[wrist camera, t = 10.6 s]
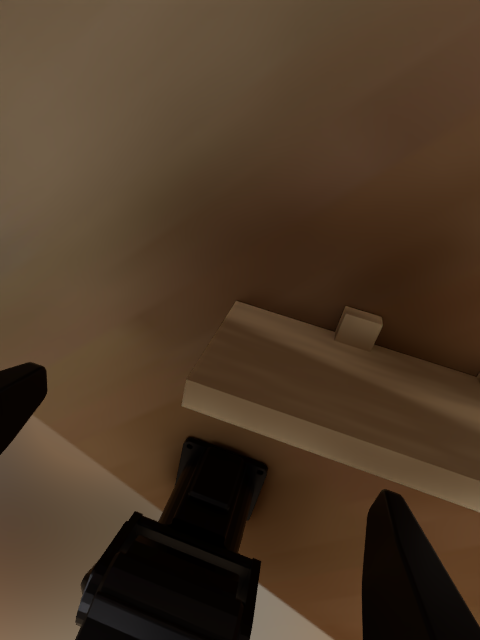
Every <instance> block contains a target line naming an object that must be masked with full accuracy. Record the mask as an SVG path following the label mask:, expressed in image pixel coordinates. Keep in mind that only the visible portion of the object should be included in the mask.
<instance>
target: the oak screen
mask: <svg viewBox="0 0 480 640" xmlns="http://www.w3.org/2000/svg"><path fill="white" fill-rule="evenodd" d="M382 326H383V322H382V317H380V316H377V315H374V314H371V313H367V312H364V311H361V310H358V309H354V308H351V307H348V306H345V309H344V311H343V314H342V316H341V318H340V321H339V323H338V326H337V328H336V331H335V332H333V331H330V330H327V329H324V328H321V327H317V326H314V325H311V324H308V323H305V322H302V321H298V320H295V319H292V318H289V317H286V316H283V315H279V314H276V313H273V312H270V311H267V310H264V309H261V308H257V307H254V306H251V305H248V304H245V303H242V302H238V301H236V302H235V303H234V305H233V307H232V308H231V310H230V311H229V313H228V314H227V316H226V318H225V319H224V321H223V322H222V324H221V325H220V327H219V329H218V330H217V332H216V333H215V335H214V337H213V338H212V340H211V341H210V343H209V344H208V346H207V348H206V349H205V351H204V352H203V354H202V355H201V357H200V359H199V360H198V362H197V363H196V365H195V366H194V368H193V370H192V371H191V373H190V374H189V376H188V378H187V379H186V384H185V389H184V395H183V400H182V405H181V406H183V407H186V408H188V409H191V410H194V411H197V412H200V413H202V414H205V415H208V416H211V417H214V418H216V419H219V420H222V421H225V422H228V423H230V424H233V425H236V426H239V427H242V428H244V429H247V430H250V431H253V432H256V433H259V434H261V435H264V436H267V437H270V438H273V439H275V440H278V441H281V442H284V443H287V444H289V445H292V446H295V447H298V448H301V449H303V450H306V451H309V452H312V453H315V454H318V455H320V456H323V457H326V458H329V459H332V460H334V461H337V462H340V463H343V464H346V465H348V466H351V467H354V468H357V469H360V470H362V471H365V472H368V473H371V474H374V475H376V476H379V477H382V478H385V479H388V480H391V481H393V482H396V483H399V484H402V485H405V486H407V487H410V488H413V489H416V490H419V491H421V492H424V493H427V494H430V495H433V496H435V497H438V498H441V499H444V500H447V501H449V502H452V503H455V504H458V505H461V506H464V507H466V508H469V509H472V510H475V511H478V512H480V373H479V374H478V376H477V377H475V376H472V375H469V374H466V373H463V372H459V371H456V370H453V369H450V368H447V367H444V366H440V365H437V364H434V363H431V362H428V361H425V360H422V359H418V358H415V357H412V356H409V355H406V354H403V353H399V352H396V351H393V350H390V349H387V348H384V347H380V346H377V345H374V343H375V341H376V339H377V337H378V335H379V333H380V331H381V328H382Z"/></svg>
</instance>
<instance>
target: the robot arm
mask: <svg viewBox="0 0 480 640" xmlns="http://www.w3.org/2000/svg"><path fill="white" fill-rule="evenodd" d="M46 394H47V374H46V369H45V367H43V366H41V365H38V364H35V363H32V362H29V363H25V364H21V365H18V366H15V367H11V368H8V369H5V370H2V371H0V455H1V453H2V452H3V451H4V450H5V449H6V448H7V447H8V445H9V444H10V443H11V442H12V441H13V439H14V438H15V437H16V435H17V434H18V433H19V431H20V430H21V429H22V427H23V426H24V425H25V423H26V422H27V421H28V419H29V418H30V417H31V416H32V414H33V413H34V412H35V410H36V409H37V408H38V406H39V405H40V404H41V402H42V401H43V400H44V398H45V396H46ZM190 444H191V445H190ZM267 471H268V468H267V466H266V465H264V464H262V463H259V462H257V461H254V460H251V459H248V458H246V457H243V456H240V455H237V454H235V453H232V452H229V451H226V450H224V449H221V448H218V447H216V446H213V445H210V444H207V443H205V442H202V441H199V440H196V439H194V438H187V439H186V440H185V442H184V444H183V449H182V454H181V459H180V464H179V469H178V474H177V478H176V483H175V487H174V490H173V492H172V494H171V496H170V498H169V500H168V502H167V504H166V506H165V508H164V511H163V513H162V515H161V517H160V519H159V521H158V522H157V521H155V520H152V519H150V518H147V517H144V516H143V514H141V513H139V512H136V511H135V512H134V513H133V515H132V516H131V518H130V519H129V521H126V522H125V523H124V524H123V526H122V528H121V529H120V531H119V532H118V533H117V535H116V536H115V538H114V539H113V541H112V542H111V544H110V545H109V546H108V548H107V549H106V551H105V552H104V554H103V555H102V556H101V558H100V559H99V560H98V562H97V563H96V564H95V565H94V566H93V567H92V568H91V569H90V570H89V571H88V573H87V574H86V575H85V576H84V578H83V580H82V582H81V590H82V594H83V596H82V598H81V602H80V606H79V609H78V612H77V616H76V625H78V626H80V627H81V628H80V630H79V632H78V635H77V637H76V639H75V640H250V635H251V630H252V624H253V617H254V610H255V602H256V595H257V587H258V580H259V573H260V566H261V561H260V560H257V559H255V558H253V559H250V558H248V557H245V556H243V555H240V554H238V551H239V547H240V544H241V540H242V536H243V532H244V528H245V524H246V521H247V520H249V519H250V516H251V514H252V511H253V509H254V506H255V503H256V501H257V498H258V496H259V493H260V491H261V488H262V485H263V483H264V480H265V478H266V475H267ZM362 622H363V640H480V627H479V625H478V623H477V622H476V620H475V618H474V617H473V615H472V613H471V612H470V610H469V608H468V606H467V605H466V603H465V601H464V600H463V598H462V596H461V595H460V593H459V591H458V590H457V588H456V586H455V584H454V583H453V581H452V579H451V578H450V576H449V574H448V573H447V571H446V569H445V568H444V566H443V564H442V563H441V561H440V559H439V557H438V556H437V554H436V552H435V551H434V549H433V547H432V546H431V544H430V542H429V541H428V539H427V537H426V536H425V534H424V532H423V530H422V529H421V527H420V525H419V524H418V522H417V520H416V519H415V517H414V515H413V514H412V512H411V510H410V508H409V507H408V505H407V503H406V502H405V500H404V498H403V497H402V496H401V495H400V494H398V493H395V492H392V491H389V490H387V489H384V490H382V491H381V492H380V494H379V495H378V497H377V498H376V500H375V501H374V503H373V504H372V506H371V508H370V509H369V512H368V516H367V526H366V538H365V550H364V562H363V574H362Z"/></svg>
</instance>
